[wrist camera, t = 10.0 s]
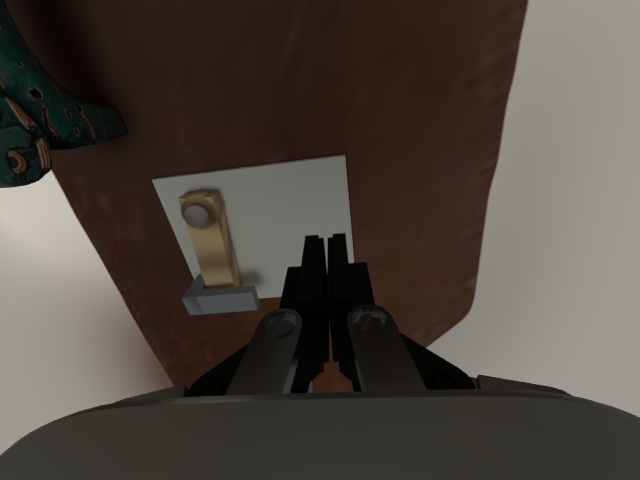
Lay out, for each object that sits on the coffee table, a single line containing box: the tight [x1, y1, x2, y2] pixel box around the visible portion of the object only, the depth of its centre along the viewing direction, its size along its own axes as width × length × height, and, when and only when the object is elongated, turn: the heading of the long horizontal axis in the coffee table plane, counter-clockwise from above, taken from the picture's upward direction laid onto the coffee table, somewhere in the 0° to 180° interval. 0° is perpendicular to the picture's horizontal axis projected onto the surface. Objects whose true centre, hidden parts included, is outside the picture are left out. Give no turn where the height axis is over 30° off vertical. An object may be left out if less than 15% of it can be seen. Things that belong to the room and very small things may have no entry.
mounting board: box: [152, 154, 354, 315], centre depth 37 cm, size 20×24×6 cm
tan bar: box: [178, 189, 242, 289], centre depth 37 cm, size 17×4×4 cm, turn 3°
